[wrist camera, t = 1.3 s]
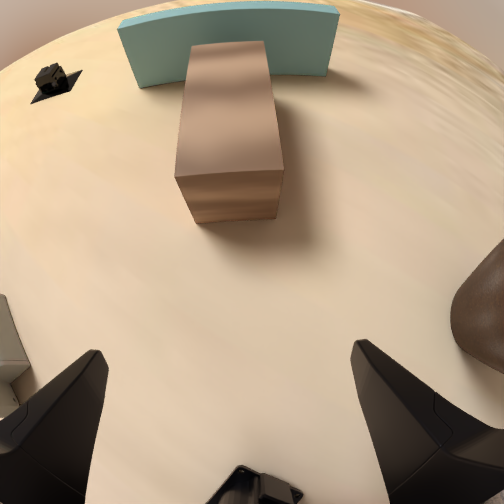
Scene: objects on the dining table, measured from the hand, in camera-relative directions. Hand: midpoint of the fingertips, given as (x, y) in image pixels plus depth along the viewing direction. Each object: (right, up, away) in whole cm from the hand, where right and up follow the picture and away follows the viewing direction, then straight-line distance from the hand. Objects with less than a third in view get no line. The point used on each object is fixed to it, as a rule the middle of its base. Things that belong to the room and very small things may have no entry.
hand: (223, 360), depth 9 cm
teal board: (-2, +29, +23) cm, 38 cm away
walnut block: (-1, +14, +19) cm, 23 cm away
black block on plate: (-31, +30, +25) cm, 50 cm away
